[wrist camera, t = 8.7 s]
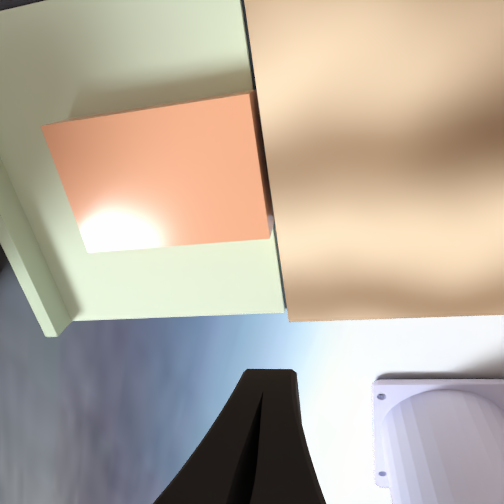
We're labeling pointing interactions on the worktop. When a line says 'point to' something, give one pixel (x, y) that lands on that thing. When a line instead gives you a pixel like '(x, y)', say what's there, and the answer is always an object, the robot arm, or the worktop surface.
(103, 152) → the tile
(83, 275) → the mat
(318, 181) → the wooden board
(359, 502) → the worktop surface
